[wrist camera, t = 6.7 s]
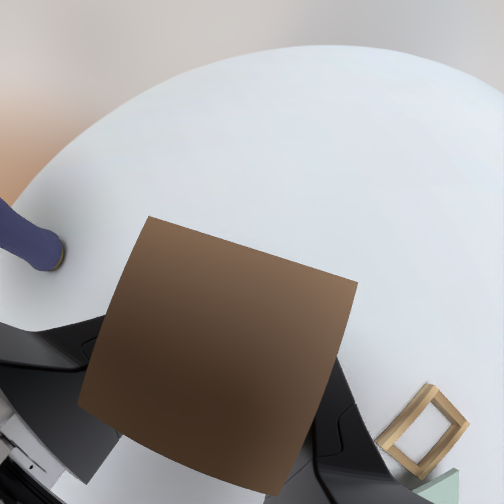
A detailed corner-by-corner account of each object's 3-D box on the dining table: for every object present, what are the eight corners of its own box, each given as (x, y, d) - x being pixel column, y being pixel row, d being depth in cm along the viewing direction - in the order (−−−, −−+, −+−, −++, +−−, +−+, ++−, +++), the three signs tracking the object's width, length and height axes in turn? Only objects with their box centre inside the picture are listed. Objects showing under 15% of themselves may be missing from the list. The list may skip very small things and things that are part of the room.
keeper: (414, 475, 16) (421, 481, 14) (374, 441, 18) (380, 446, 16) (460, 421, 17) (470, 424, 16) (425, 383, 19) (434, 385, 17)
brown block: (274, 389, 15) (277, 496, 3) (216, 368, 16) (77, 404, 4) (294, 332, 16) (357, 282, 4) (237, 313, 17) (148, 216, 5)
